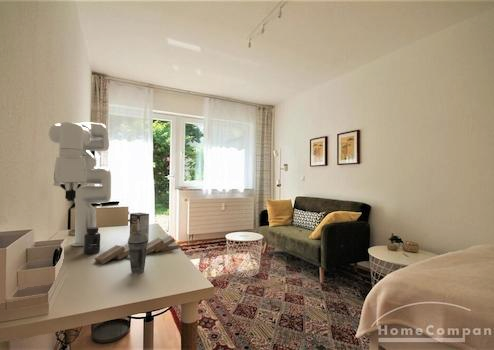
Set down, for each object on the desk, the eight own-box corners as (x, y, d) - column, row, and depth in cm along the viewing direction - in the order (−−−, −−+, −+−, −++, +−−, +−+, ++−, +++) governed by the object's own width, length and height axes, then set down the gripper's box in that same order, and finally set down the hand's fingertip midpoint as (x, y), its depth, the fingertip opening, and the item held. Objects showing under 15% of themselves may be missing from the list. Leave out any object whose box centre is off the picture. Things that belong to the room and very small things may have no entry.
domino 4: (151, 245, 119) (170, 235, 124) (153, 248, 120) (171, 238, 125) (154, 249, 114) (173, 238, 119) (156, 252, 115) (175, 241, 120)
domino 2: (109, 254, 107) (129, 244, 115) (110, 258, 107) (130, 248, 116) (118, 255, 104) (137, 245, 113) (119, 259, 104) (138, 249, 113)
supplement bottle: (91, 255, 111) (92, 229, 111) (79, 254, 112) (80, 229, 113) (103, 251, 118) (103, 226, 118) (91, 250, 119) (92, 226, 119)
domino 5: (155, 246, 121) (174, 242, 128) (155, 250, 121) (174, 246, 128) (161, 248, 117) (179, 244, 124) (161, 252, 117) (179, 248, 124)
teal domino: (130, 257, 104) (123, 252, 111) (130, 262, 104) (123, 256, 111) (144, 254, 109) (136, 250, 116) (144, 258, 109) (136, 254, 116)
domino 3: (139, 248, 115) (158, 237, 121) (140, 251, 116) (159, 240, 122) (142, 251, 111) (162, 239, 116) (144, 255, 111) (164, 243, 117)
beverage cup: (127, 276, 87) (127, 221, 87) (127, 269, 93) (127, 218, 94) (148, 273, 90) (149, 220, 90) (147, 266, 97) (147, 217, 97)
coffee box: (129, 242, 135) (129, 213, 135) (139, 239, 140) (139, 212, 141) (138, 244, 130) (139, 214, 130) (149, 241, 135) (149, 213, 136)
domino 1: (94, 258, 102) (116, 245, 110) (96, 262, 102) (117, 248, 110) (101, 259, 98) (123, 246, 107) (103, 264, 99) (125, 250, 107)
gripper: (90, 156, 102) (90, 199, 102) (45, 153, 91) (44, 201, 91) (95, 155, 97) (94, 200, 97) (48, 152, 86) (47, 202, 86)
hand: (70, 200), depth 94 cm, fingers closed
